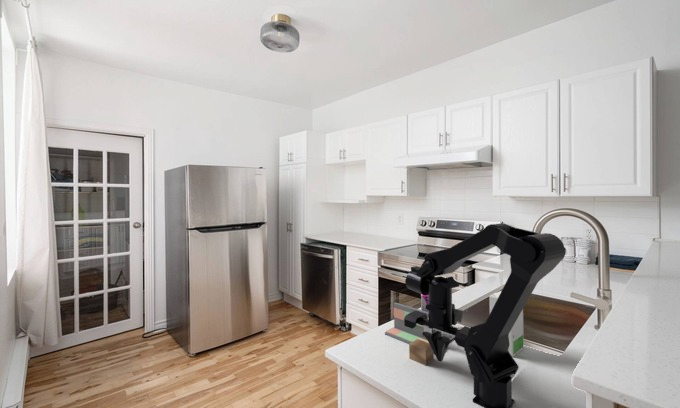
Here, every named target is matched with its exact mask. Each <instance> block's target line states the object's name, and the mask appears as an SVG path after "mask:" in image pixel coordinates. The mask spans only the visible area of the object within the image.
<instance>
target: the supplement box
mask: <svg viewBox="0 0 680 408" xmlns="http://www.w3.org/2000/svg"><path fill="white" fill-rule="evenodd" d="M420 298H421V299H420V300H421V301H420V310H422V311H426V312H429V310H427V309H426V305H427V304H429V303H428V295H422V294H420Z"/></svg>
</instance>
